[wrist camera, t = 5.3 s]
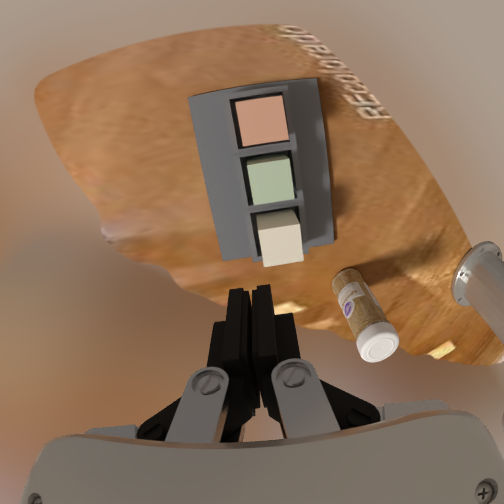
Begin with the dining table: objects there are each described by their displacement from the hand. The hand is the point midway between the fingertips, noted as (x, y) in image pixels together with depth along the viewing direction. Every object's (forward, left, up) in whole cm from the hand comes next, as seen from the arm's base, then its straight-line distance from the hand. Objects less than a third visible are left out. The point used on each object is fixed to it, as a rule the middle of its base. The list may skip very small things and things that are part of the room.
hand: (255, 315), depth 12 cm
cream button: (-4, +4, -21) cm, 21 cm away
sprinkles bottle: (-15, +11, -23) cm, 30 cm away
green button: (-2, -2, -22) cm, 22 cm away
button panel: (-2, -2, -23) cm, 23 cm away
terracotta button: (0, -8, -20) cm, 22 cm away
